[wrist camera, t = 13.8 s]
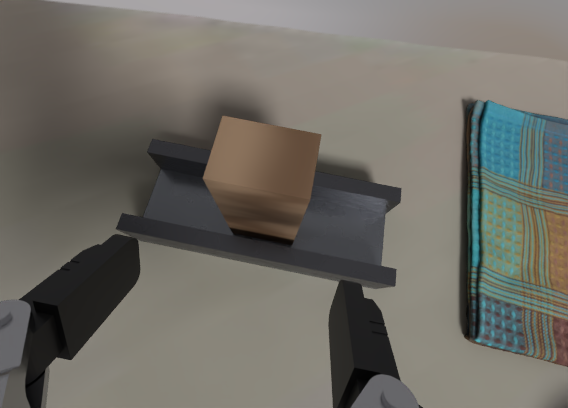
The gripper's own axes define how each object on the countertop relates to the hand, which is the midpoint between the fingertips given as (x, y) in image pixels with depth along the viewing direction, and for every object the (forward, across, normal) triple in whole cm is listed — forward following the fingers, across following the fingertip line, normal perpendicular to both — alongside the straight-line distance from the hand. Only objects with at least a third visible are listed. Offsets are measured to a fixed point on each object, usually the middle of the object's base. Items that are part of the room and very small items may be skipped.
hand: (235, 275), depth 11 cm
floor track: (+13, 0, +5) cm, 14 cm away
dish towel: (+17, -26, +2) cm, 31 cm away
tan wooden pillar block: (+12, 0, +4) cm, 13 cm away
